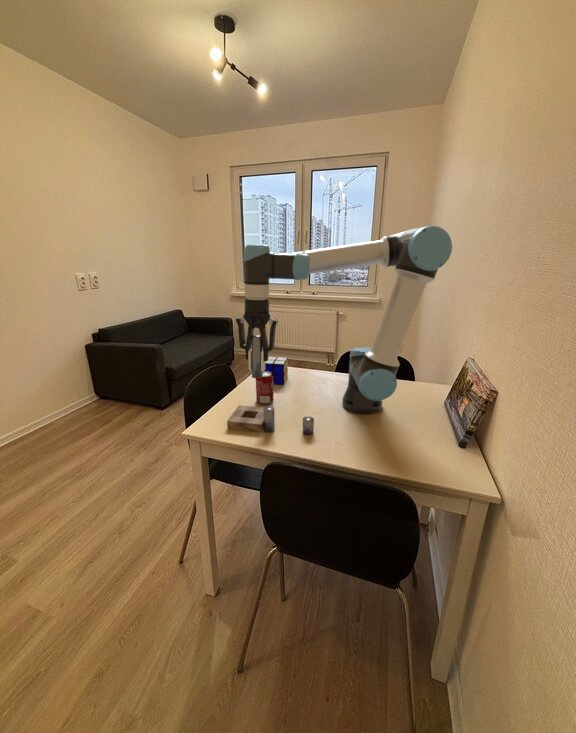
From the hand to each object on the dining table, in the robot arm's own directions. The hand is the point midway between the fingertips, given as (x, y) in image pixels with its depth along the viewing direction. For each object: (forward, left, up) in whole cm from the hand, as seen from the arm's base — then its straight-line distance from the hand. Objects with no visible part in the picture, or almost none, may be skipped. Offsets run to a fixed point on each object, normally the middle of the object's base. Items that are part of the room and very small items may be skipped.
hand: (257, 369), depth 107 cm
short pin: (-18, +4, -20) cm, 27 cm away
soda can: (+2, -16, -20) cm, 26 cm away
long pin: (0, 0, -2) cm, 2 cm away
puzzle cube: (+3, -39, -20) cm, 44 cm away
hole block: (+3, +1, -20) cm, 20 cm away
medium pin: (-5, +5, -20) cm, 21 cm away
